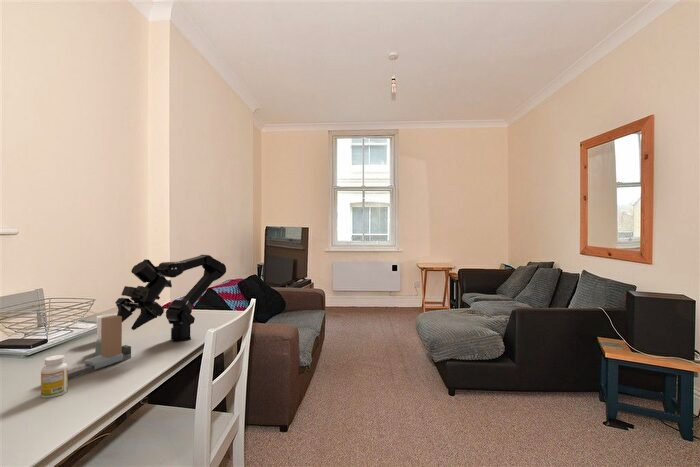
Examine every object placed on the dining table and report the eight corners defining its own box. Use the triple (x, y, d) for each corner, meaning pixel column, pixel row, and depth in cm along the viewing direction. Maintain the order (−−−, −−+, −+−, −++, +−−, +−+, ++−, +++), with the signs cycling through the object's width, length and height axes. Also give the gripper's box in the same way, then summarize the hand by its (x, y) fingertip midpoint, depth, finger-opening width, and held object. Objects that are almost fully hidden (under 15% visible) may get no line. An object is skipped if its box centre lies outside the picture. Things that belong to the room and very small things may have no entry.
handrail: (125, 356, 118) (125, 345, 118) (131, 357, 117) (131, 346, 117) (47, 382, 97) (47, 369, 97) (53, 384, 96) (53, 370, 96)
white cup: (108, 344, 131) (108, 318, 131) (91, 342, 132) (91, 317, 132) (125, 338, 139) (125, 313, 139) (109, 336, 140) (109, 312, 140)
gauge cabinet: (120, 348, 126) (120, 334, 126) (119, 353, 121) (119, 339, 121) (97, 351, 123) (97, 337, 123) (95, 357, 117) (95, 343, 117)
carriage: (112, 357, 115) (112, 314, 115) (123, 359, 113) (123, 316, 113) (84, 366, 107) (84, 320, 107) (95, 369, 105) (95, 322, 105)
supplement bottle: (51, 389, 93) (51, 354, 93) (72, 388, 94) (72, 353, 94) (35, 398, 88) (35, 361, 88) (57, 398, 88) (57, 360, 88)
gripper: (120, 275, 124) (87, 312, 114) (156, 278, 117) (124, 318, 107) (140, 293, 131) (112, 329, 121) (175, 297, 124) (148, 335, 114)
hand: (123, 327), depth 116 cm, fingers open, 9 cm apart
